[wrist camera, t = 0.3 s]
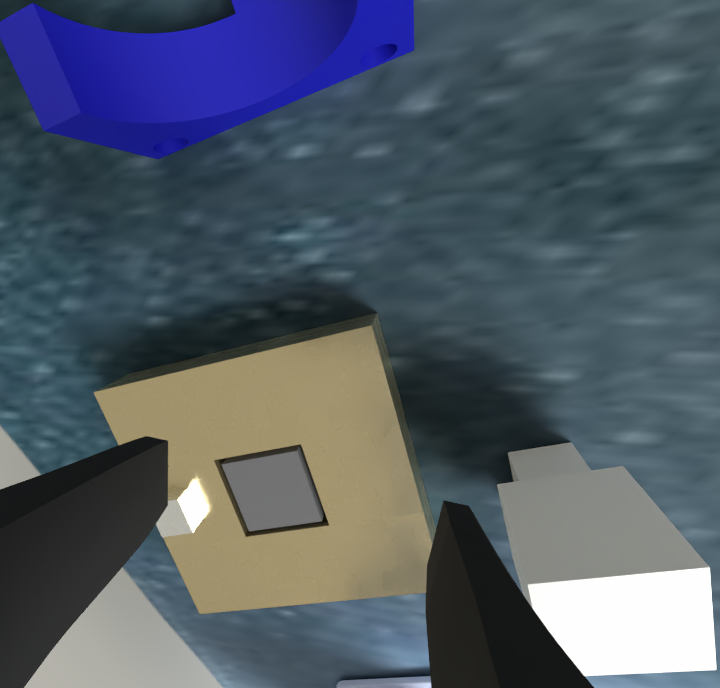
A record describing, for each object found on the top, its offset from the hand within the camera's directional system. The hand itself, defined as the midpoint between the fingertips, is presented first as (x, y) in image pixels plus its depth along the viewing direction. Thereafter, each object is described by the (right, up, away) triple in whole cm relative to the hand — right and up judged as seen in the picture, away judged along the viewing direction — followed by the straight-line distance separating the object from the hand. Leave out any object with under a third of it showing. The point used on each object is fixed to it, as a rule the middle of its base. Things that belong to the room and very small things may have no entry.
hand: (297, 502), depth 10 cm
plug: (+11, -2, +10) cm, 15 cm away
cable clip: (-3, +16, +6) cm, 18 cm away
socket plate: (-2, -3, +12) cm, 12 cm away
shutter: (-3, -3, +10) cm, 11 cm away
